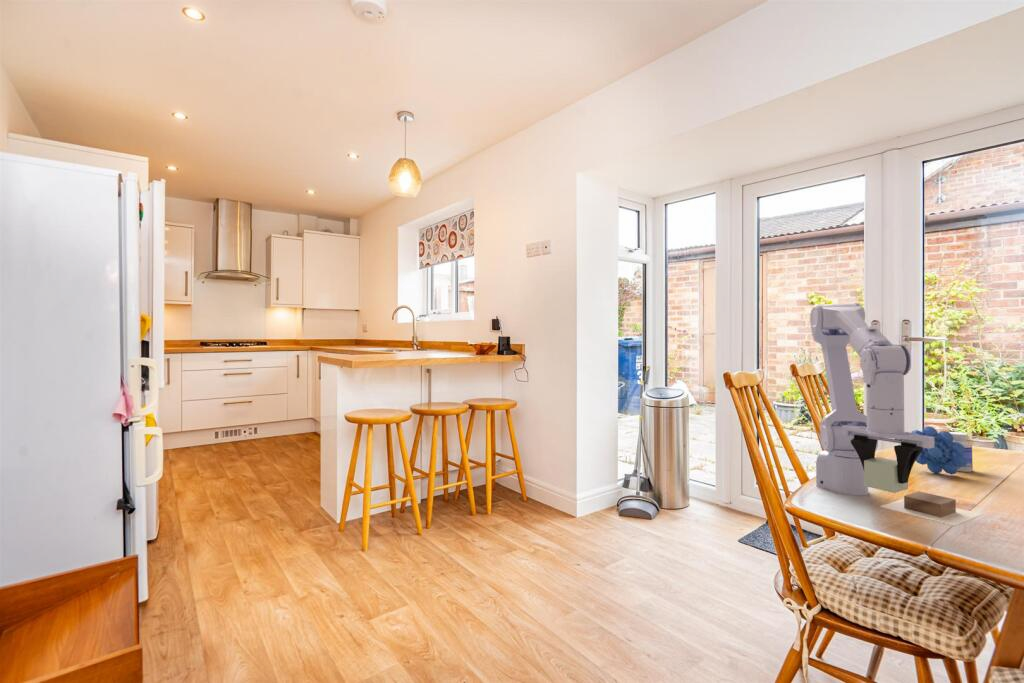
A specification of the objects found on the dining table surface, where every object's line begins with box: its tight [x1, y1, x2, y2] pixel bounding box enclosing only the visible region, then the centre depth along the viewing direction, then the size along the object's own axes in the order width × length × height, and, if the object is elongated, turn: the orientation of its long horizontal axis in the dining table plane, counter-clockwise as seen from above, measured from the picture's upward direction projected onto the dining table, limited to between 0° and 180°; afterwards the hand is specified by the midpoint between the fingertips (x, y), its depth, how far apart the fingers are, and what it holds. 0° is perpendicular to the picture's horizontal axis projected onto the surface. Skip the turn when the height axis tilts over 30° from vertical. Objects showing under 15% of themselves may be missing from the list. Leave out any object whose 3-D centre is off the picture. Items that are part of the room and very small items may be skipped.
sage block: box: [864, 456, 909, 494], centre depth 93 cm, size 5×5×5 cm
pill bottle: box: [948, 431, 974, 473], centre depth 129 cm, size 5×5×10 cm
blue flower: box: [910, 425, 967, 475], centre depth 125 cm, size 12×7×12 cm, turn 43°
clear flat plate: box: [879, 498, 983, 527], centre depth 97 cm, size 12×12×1 cm
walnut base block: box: [903, 491, 957, 518], centre depth 97 cm, size 6×6×2 cm
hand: (885, 478), depth 93 cm, fingers closed on sage block, 5 cm apart
